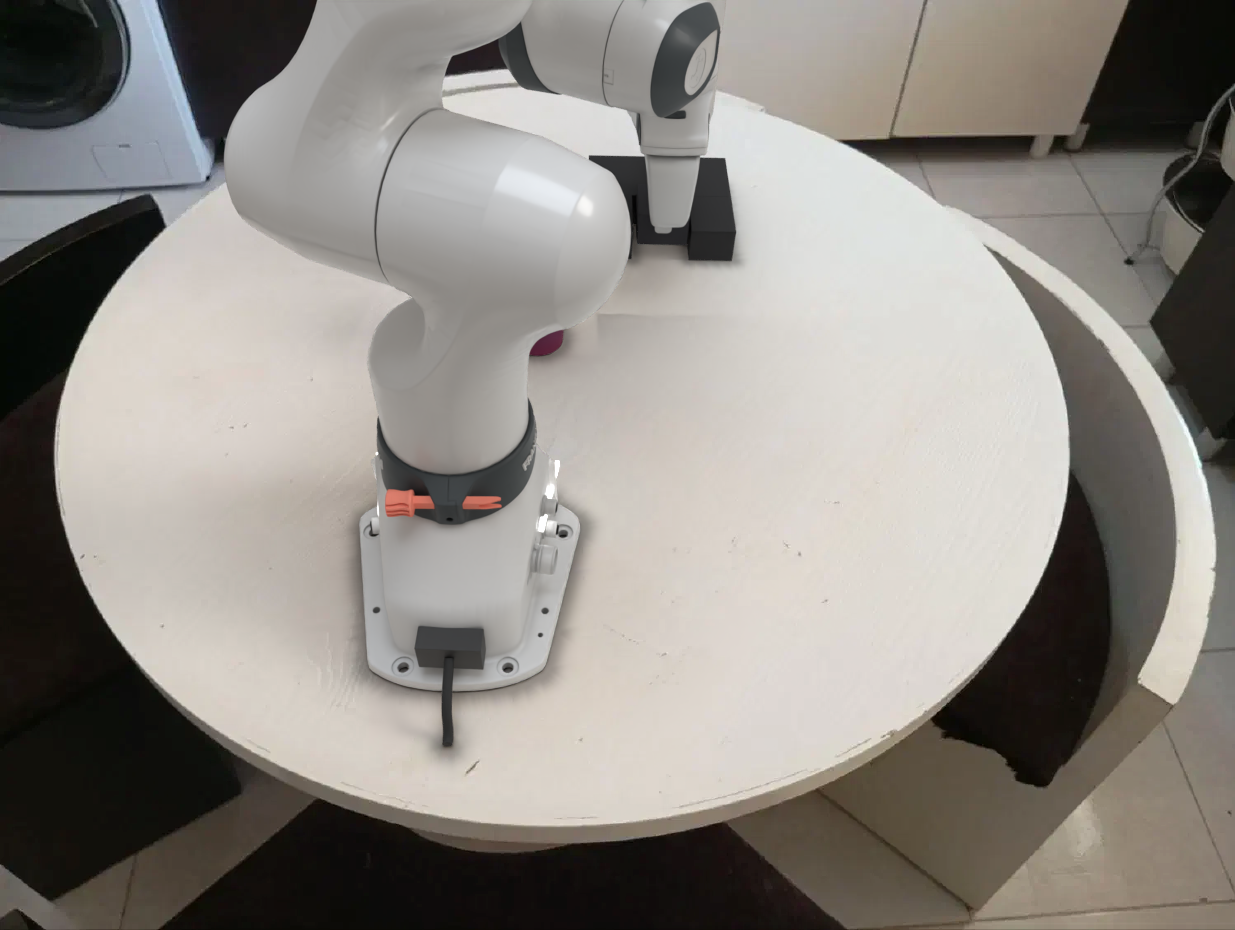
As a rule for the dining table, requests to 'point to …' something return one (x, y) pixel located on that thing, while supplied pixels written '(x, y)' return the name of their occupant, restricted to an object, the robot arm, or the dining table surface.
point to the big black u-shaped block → (709, 207)
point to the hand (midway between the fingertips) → (661, 210)
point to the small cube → (647, 230)
